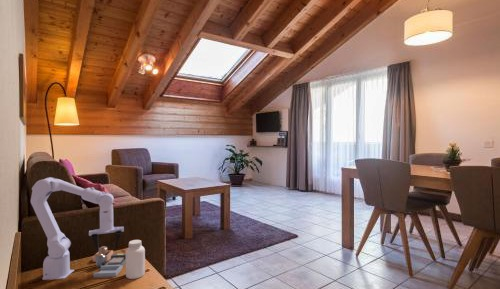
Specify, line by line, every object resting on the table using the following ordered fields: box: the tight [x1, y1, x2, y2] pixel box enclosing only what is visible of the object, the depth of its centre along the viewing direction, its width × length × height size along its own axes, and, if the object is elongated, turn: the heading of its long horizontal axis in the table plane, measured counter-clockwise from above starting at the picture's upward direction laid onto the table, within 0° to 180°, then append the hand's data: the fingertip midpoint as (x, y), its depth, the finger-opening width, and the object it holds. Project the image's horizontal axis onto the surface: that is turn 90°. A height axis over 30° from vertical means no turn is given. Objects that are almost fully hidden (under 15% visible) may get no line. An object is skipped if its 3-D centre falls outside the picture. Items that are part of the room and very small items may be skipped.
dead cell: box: [98, 245, 109, 255], centre depth 143 cm, size 4×4×6 cm
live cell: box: [95, 254, 107, 269], centre depth 135 cm, size 4×4×6 cm
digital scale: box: [104, 253, 126, 267], centre depth 137 cm, size 10×8×3 cm
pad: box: [109, 257, 124, 265], centre depth 137 cm, size 5×5×1 cm
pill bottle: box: [125, 239, 146, 280], centre depth 126 cm, size 8×8×15 cm
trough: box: [92, 264, 124, 279], centre depth 128 cm, size 10×8×2 cm
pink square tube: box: [92, 249, 114, 263], centre depth 143 cm, size 7×7×3 cm
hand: (107, 248), depth 132 cm, fingers open, 7 cm apart
